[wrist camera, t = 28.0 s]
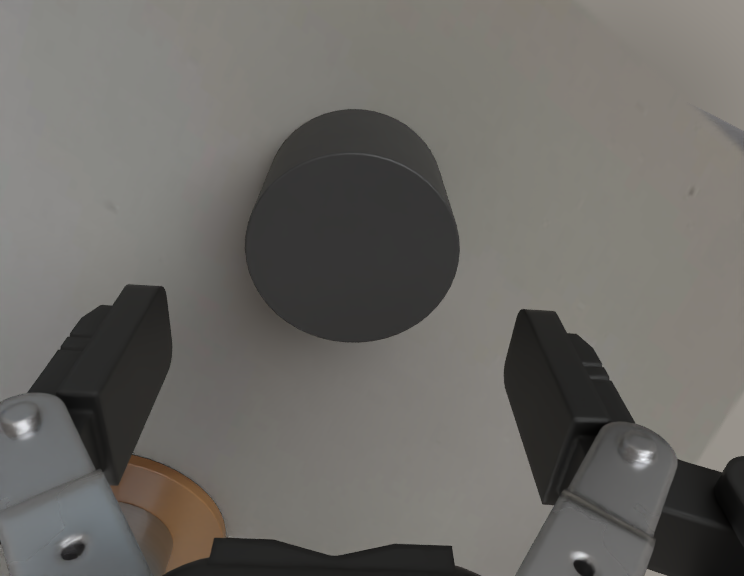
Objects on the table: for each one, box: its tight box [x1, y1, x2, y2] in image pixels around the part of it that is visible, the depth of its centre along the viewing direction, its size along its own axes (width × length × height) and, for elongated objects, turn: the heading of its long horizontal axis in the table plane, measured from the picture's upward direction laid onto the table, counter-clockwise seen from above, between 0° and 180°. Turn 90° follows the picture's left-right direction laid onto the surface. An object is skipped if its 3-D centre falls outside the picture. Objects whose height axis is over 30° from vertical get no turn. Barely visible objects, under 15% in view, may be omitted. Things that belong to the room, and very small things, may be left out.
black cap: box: [245, 109, 460, 342], centre depth 19 cm, size 6×6×4 cm
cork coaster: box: [110, 455, 226, 573], centre depth 30 cm, size 11×11×1 cm
